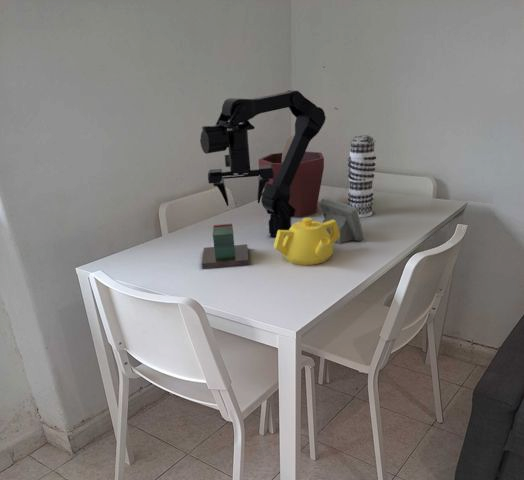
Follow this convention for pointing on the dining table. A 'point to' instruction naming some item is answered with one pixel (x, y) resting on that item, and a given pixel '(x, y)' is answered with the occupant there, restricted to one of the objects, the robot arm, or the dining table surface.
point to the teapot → (307, 241)
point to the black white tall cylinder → (361, 174)
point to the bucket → (300, 179)
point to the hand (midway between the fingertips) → (243, 204)
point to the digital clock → (343, 220)
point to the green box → (223, 241)
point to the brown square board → (239, 259)
